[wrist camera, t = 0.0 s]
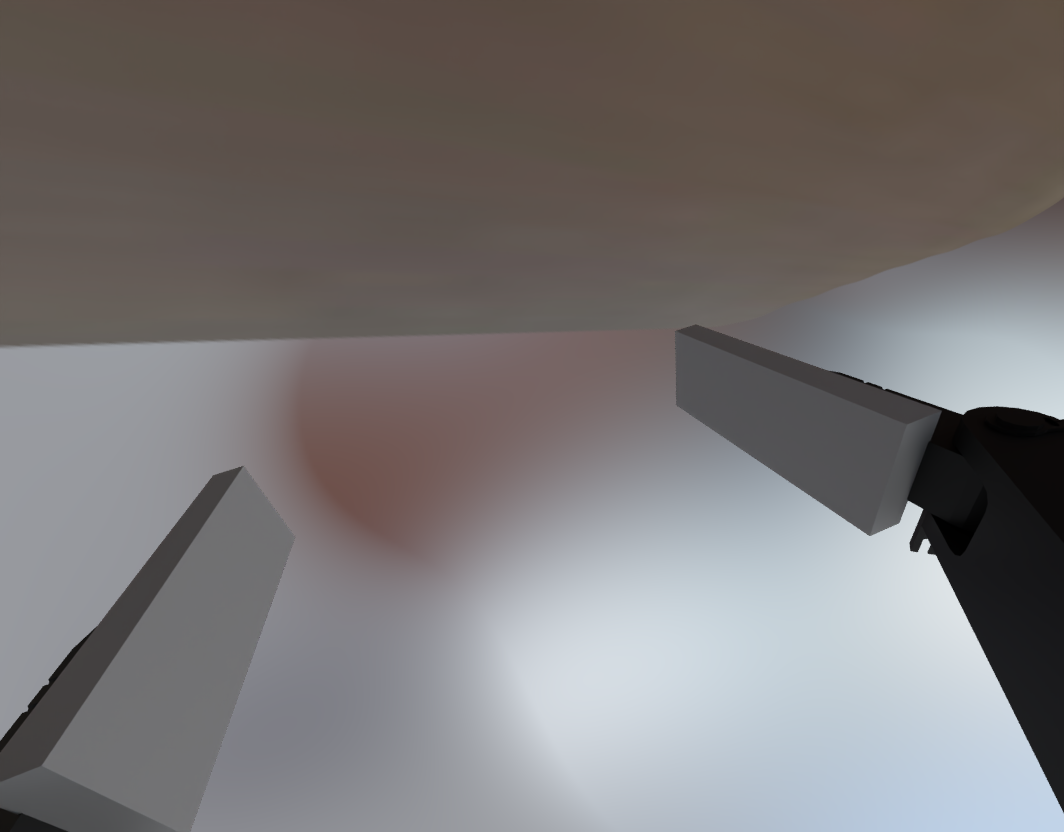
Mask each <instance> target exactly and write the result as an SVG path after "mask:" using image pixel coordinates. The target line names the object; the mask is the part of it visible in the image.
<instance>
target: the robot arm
mask: <svg viewBox="0 0 1064 832" xmlns="http://www.w3.org/2000/svg"><path fill="white" fill-rule="evenodd" d="M675 345H676V346H675V347H676V348H675V349H676V400H677V401H676V404H677V406H678V407H680V408H681V409H683V410H684V411H686V412H687V413H689V414H690V415H692V416H693V417H695V418H696V419H698V420H699V421H700V422H702V423H703V424H705V425H706V426H708V427H709V428H711V429H712V430H714V431H715V432H717V433H718V434H720V435H721V436H723V437H724V438H726V439H727V440H729V441H730V442H732V443H733V444H734V445H736V446H737V447H739V448H740V449H742V450H743V451H745V452H746V453H748V454H749V455H751V456H752V457H754V458H755V459H757V460H758V461H760V462H761V463H763V464H764V465H766V466H767V467H768V468H770V469H772V470H773V471H774V472H776V473H777V474H779V475H780V476H782V477H783V478H785V479H786V480H788V481H789V482H791V483H792V484H794V485H795V486H796V487H798V488H800V489H801V490H802V491H804V492H805V493H807V494H808V495H810V496H811V497H813V498H814V499H816V500H817V501H819V502H820V503H822V504H823V505H825V506H826V507H828V508H829V509H831V510H832V511H833V512H835V513H836V514H838V515H839V516H841V517H842V518H844V519H845V520H847V521H848V522H850V523H851V524H853V525H854V526H856V527H857V528H859V529H860V530H861V531H863V532H864V533H866V534H867V535H869V536H871V535H873V534H876V533H878V532H880V531H882V530H885V529H887V528H889V527H892V526H893V525H896V524H898V523H899V522H900V520H901V517H902V514H903V512H904V509H905V507H906V504H907V501H910V502H912V503H914V504H916V505H917V506H919V507H921V508H923V512H922V514H921V517H920V519H919V522H918V524H917V526H916V529H915V531H914V533H913V536H912V538H911V541H910V551H913V552H918V550H919V548H920V546H921V543H922V541H923V539H928V540H929V542H930V544H931V546H930V548H929V550H928V554H934V555H936V556H937V558H938V560H939V562H940V564H941V566H942V568H943V570H944V572H945V574H946V576H947V578H948V580H949V582H950V584H951V586H952V588H953V590H954V592H955V594H956V597H957V599H958V601H959V603H960V605H961V607H962V609H963V610H964V613H965V614H966V616H967V619H968V621H969V623H970V625H971V627H972V629H973V631H974V633H975V635H976V637H977V639H978V641H979V643H980V645H981V647H982V649H983V651H984V653H985V655H986V657H987V659H988V661H989V663H990V665H991V667H992V669H993V671H994V673H995V675H996V677H997V679H998V681H999V683H1000V685H1001V687H1002V689H1003V691H1004V693H1005V695H1006V697H1007V699H1008V701H1009V703H1010V705H1011V707H1012V709H1013V711H1014V714H1015V716H1016V717H1017V720H1018V721H1019V724H1020V726H1021V728H1022V729H1023V732H1024V734H1025V736H1026V738H1027V740H1028V741H1029V744H1030V746H1031V748H1032V750H1033V752H1034V753H1035V755H1036V758H1037V760H1038V762H1039V764H1040V766H1041V768H1042V770H1043V772H1044V774H1045V776H1046V778H1047V780H1048V782H1049V784H1050V786H1051V788H1052V790H1053V792H1054V794H1055V796H1056V798H1057V800H1058V802H1059V804H1060V806H1061V808H1062V810H1063V812H1064V419H1062V420H1059V419H1056V418H1055V417H1052V416H1048V415H1045V414H1042V413H1038V412H1034V411H1029V410H1024V409H1019V408H1009V407H998V406H996V407H979V408H976V409H972V410H969V411H967V412H966V413H965V414H964V415H962V414H959V413H956V412H953V411H950V410H947V409H944V408H941V407H938V406H936V405H933V404H930V403H927V402H924V401H921V400H918V399H915V398H912V397H909V396H907V395H904V394H901V393H898V392H895V391H892V390H889V389H885V390H883V389H882V387H880V386H877V385H875V384H872V383H869V382H867V383H864V382H863V380H860V379H857V378H854V377H852V376H849V375H845V374H843V373H838V372H833V371H827V370H824V369H821V368H818V367H816V366H813V365H810V364H807V363H804V362H801V361H799V360H796V359H793V358H790V357H787V356H784V355H781V354H779V353H776V352H773V351H770V350H767V349H764V348H761V347H759V346H755V345H753V344H750V343H747V342H744V341H742V340H738V339H736V338H733V337H730V336H727V335H724V334H722V333H719V332H716V331H713V330H710V329H707V328H705V327H702V326H699V325H693V326H690V327H687V328H683V329H681V330H677V331H675ZM294 539H295V536H294V534H293V533H292V532H291V530H290V529H289V528H288V526H287V525H286V523H285V522H284V521H283V519H282V518H281V517H280V515H279V514H278V512H277V511H276V510H275V508H274V507H273V506H272V504H271V503H270V501H269V500H268V499H267V497H266V496H265V495H264V493H263V492H262V490H261V489H260V488H259V487H258V485H257V484H256V482H255V481H254V479H253V478H252V477H251V475H250V474H249V473H248V471H247V470H246V469H245V467H244V466H242V467H239V468H235V469H233V470H229V471H226V472H223V473H219V474H217V475H213V476H212V478H211V479H210V480H209V482H208V483H207V484H206V486H205V487H204V488H203V490H202V491H201V492H200V493H199V495H198V496H197V497H196V499H195V500H194V501H193V503H192V504H191V505H190V506H189V508H188V509H187V510H186V512H185V513H184V514H183V516H182V517H181V518H180V519H179V521H178V522H177V523H176V525H175V526H174V527H173V529H172V530H171V531H170V533H169V534H168V535H167V536H166V538H165V539H164V540H163V541H162V543H161V544H160V545H159V547H158V548H157V549H156V551H155V552H154V553H153V554H152V556H151V557H150V558H149V560H148V561H147V562H146V564H145V565H144V566H143V567H142V569H141V570H140V571H139V573H138V574H137V575H136V577H135V578H134V579H133V581H132V582H131V583H130V584H129V586H128V587H127V588H126V590H125V591H124V592H123V594H122V595H121V596H120V597H119V599H118V600H117V601H116V603H115V604H114V605H113V607H112V608H111V609H110V610H109V612H108V613H107V614H106V616H105V617H104V618H103V620H102V621H101V622H100V623H99V625H98V626H97V627H96V628H95V629H94V630H93V631H91V633H89V634H88V635H87V636H86V637H85V638H84V639H83V640H82V641H81V642H80V643H79V644H78V645H76V646H75V647H74V648H73V649H72V651H71V652H70V653H69V654H68V655H67V657H66V658H65V659H64V661H63V662H62V663H61V664H60V666H59V667H58V668H57V669H56V671H55V672H54V673H53V674H52V676H51V677H50V678H49V684H48V685H45V686H43V687H42V689H41V690H40V691H39V693H38V694H37V695H36V696H35V697H34V699H33V700H32V701H31V702H30V704H29V705H28V711H27V712H24V713H22V714H21V715H20V716H19V718H18V719H17V720H16V722H15V723H14V724H13V725H12V727H11V728H10V729H9V730H8V732H7V733H6V734H5V736H4V737H3V738H2V740H1V741H0V832H190V831H191V828H192V825H193V823H194V820H195V817H196V814H197V811H198V809H199V806H200V803H201V800H202V797H203V795H204V791H205V789H206V786H207V783H208V781H209V777H210V775H211V772H212V769H213V766H214V763H215V761H216V758H217V755H218V752H219V750H220V747H221V744H222V741H223V738H224V735H225V733H226V730H227V727H228V724H229V722H230V719H231V716H232V713H233V710H234V708H235V705H236V702H237V699H238V696H239V694H240V690H241V688H242V685H243V682H244V680H245V677H246V674H247V671H248V668H249V666H250V663H251V660H252V657H253V654H254V651H255V649H256V646H257V643H258V640H259V638H260V635H261V631H262V629H263V626H264V623H265V621H266V618H267V615H268V612H269V609H270V607H271V604H272V601H273V598H274V595H275V593H276V590H277V587H278V584H279V581H280V578H281V575H282V573H283V570H284V567H285V565H286V562H287V559H288V556H289V553H290V551H291V548H292V545H293V542H294Z"/></svg>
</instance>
